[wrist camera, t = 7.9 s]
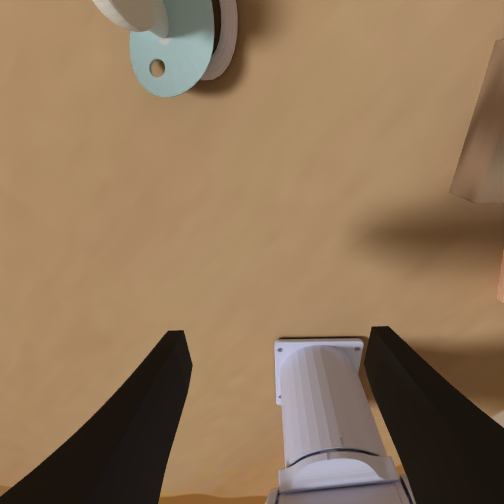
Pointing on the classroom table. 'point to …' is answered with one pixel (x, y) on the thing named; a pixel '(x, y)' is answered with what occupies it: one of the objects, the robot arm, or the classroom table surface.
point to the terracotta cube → (501, 282)
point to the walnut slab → (485, 140)
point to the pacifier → (175, 40)
